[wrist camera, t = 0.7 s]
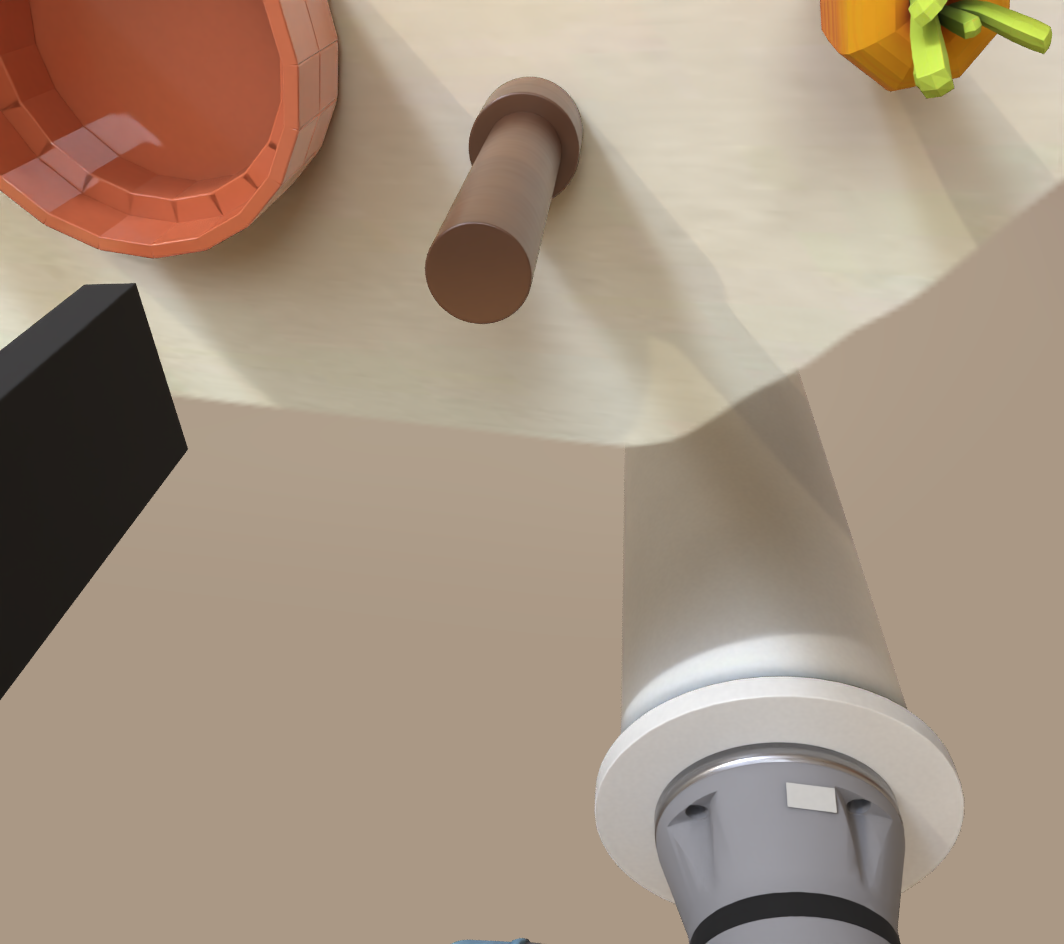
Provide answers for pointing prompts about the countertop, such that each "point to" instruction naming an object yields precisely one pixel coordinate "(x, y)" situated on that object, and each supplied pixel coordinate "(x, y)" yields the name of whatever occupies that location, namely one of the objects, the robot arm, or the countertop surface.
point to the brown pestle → (505, 200)
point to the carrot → (923, 37)
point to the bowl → (161, 114)
